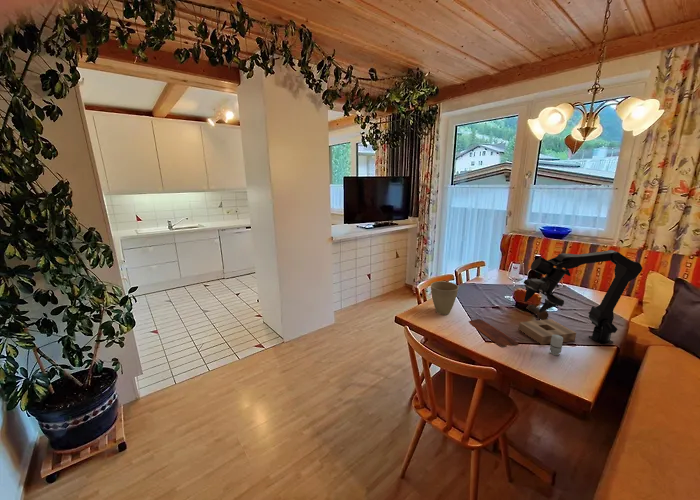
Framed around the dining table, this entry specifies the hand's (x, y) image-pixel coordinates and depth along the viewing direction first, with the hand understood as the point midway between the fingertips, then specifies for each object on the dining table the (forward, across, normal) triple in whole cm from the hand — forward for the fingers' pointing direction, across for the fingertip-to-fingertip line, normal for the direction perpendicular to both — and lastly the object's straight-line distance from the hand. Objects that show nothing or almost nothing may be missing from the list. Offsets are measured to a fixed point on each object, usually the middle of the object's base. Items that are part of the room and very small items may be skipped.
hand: (532, 306), depth 136 cm
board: (+10, +4, +14) cm, 17 cm away
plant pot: (+29, -28, -18) cm, 45 cm away
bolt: (+8, -17, +26) cm, 33 cm away
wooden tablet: (+21, -4, -8) cm, 23 cm away
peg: (+11, +18, +5) cm, 22 cm away
